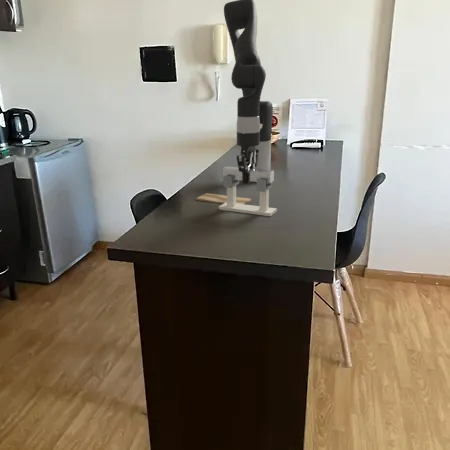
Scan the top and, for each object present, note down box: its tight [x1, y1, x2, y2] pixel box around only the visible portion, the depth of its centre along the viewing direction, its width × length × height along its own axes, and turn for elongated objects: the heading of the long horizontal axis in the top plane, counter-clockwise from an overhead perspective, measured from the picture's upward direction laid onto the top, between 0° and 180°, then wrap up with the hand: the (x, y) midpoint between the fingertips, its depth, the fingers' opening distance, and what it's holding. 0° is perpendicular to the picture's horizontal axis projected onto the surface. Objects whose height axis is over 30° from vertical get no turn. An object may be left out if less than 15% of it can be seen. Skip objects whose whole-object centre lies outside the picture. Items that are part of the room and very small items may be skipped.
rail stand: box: [218, 175, 278, 217], centre depth 153 cm, size 7×19×12 cm, turn 64°
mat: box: [195, 192, 252, 205], centre depth 167 cm, size 8×19×1 cm, turn 64°
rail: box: [222, 166, 275, 183], centre depth 151 cm, size 4×17×4 cm, turn 64°
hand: (248, 181), depth 152 cm, fingers closed on rail, 3 cm apart
